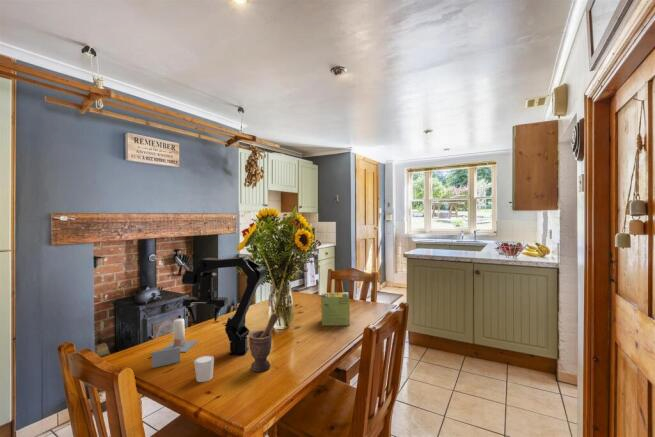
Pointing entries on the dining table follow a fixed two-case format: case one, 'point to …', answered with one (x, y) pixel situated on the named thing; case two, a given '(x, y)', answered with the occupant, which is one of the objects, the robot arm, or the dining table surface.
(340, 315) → the protein box
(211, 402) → the dining table surface
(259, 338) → the mortar and pestle
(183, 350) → the slate mat
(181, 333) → the white rounded cylinder
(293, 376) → the dining table surface
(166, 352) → the screen
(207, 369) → the shot glass
